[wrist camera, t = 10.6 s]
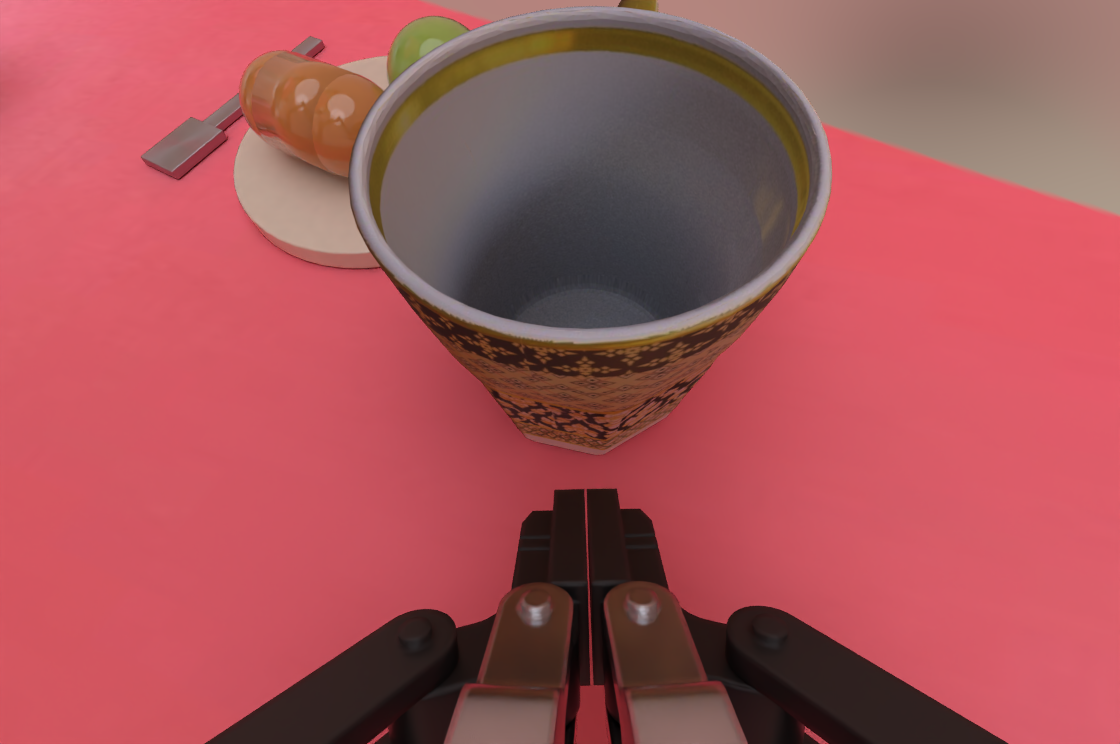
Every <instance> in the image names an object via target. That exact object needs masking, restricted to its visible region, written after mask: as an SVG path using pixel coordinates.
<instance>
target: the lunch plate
mask: <svg viewBox="0 0 1120 744" xmlns="http://www.w3.org/2000/svg"><path fill="white" fill-rule="evenodd" d="M468 31H470V30H469V29H468V28H466V27H465V26H464V25H462V24H461V23H459V22H457V21H455V20H453V19H450V18H446V17H441V16H427V17H422V18H419V19H416V20H414V21H412V22H410V23H409V24H408V25H406V26H405V27H404V28H403V29H402V30H401V31H400V32H399V33H398V34H397V35H396V37H395V39H394V40H393V42H392V44H391V47H390V50H389V52H388V56H380V57H373V58H367V59H362V60H358V61H354V62H350V63H346V64H343V65H340V66H334V65H331V64H328V63H326V62H323V61H320V60H317V59H314V58H312V57H309V56H306V55H303V54H300V53H297V52H292V51H287V50H277V51H270V52H267V53H264V54H262V55H260V56H259V57H257V58H255V59H254V60H253V61H252V62H251V63H250V64H249V65H248V66H247V68H246V69H245V71H244V73H243V75H242V78H241V81H240V86H239V101H240V106H241V110H242V113H243V115H244V117H245V119H246V121H247V123H248V125H249V126H250V128H249V129H248V131H247V132H246V134H245V135H244V137H243V139H242V142H241V144H240V146H239V148H238V151H237V155H236V158H235V164H234V185H235V190H236V193H237V196H238V200H239V202H240V203H241V205H242V207H243V209H244V211H245V212H246V214H247V215H248V216H249V218H250V219H251V221H252V222H253V223H254V225H255V226H256V227H257V228H258V230H259V231H260V232H261V233H262V234H263V236H264V237H266V238H267V239H268V240H269V241H270V242H272V243H273V244H274V245H275V246H277V247H279V248H280V249H282V250H284V251H285V252H287V253H289V254H291V255H293V256H296V257H298V258H300V259H303V260H305V261H309V262H313V263H316V264H320V265H325V266H332V267H339V268H374V267H380V265H379V264H378V262H377V261H376V260H375V258H374V257H373V255H372V254H371V253H370V251H369V250H368V248H367V246H366V244H365V242H364V240H363V238H362V236H361V234H360V232H359V231H358V229H357V225H356V222H355V219H354V216H353V213H352V209H351V205H350V195H349V184H348V173H349V162H350V157H351V152H352V147H353V144H354V142H355V139H356V137H357V134H358V132H359V129H360V126H361V124H362V122H363V121H364V119H365V117H366V115H367V113H368V112H369V110H370V109H371V107H372V106H373V104H374V103H375V101H376V100H377V98H378V97H379V96H380V95H381V94H382V92H383V91H384V90H385V89H386V88H387V87H388V86H389V85H390V84H391V83H392V81H393V80H395V79H396V78H397V77H398V76H399V75H400V74H401V73H402V72H403V71H404V70H406V69H407V68H408V67H409V66H410V65H411V64H413V63H414V62H416V61H417V60H418V59H420V58H421V57H423V56H424V55H426V54H427V53H429V52H430V51H432V50H433V49H435V48H436V47H438V46H440V45H442V44H444V43H446V42H448V41H450V40H451V39H453V38H455V37H457V36H459V35H461V34H463V33H466V32H468Z"/></svg>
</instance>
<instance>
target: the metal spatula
mask: <svg viewBox="0 0 1120 744" xmlns="http://www.w3.org/2000/svg"><path fill="white" fill-rule="evenodd" d="M324 47H325V46H324V44H323V41H322V40H320V39H317V38H314V37H311V36H309V37H308V38H307V39H306V40H304V41H303V42H302V43H301V44H299V45H298V46H297V47H296V48H294V49H293V50H292V52H297V53H300V54H303V55H306V56H309V57H313V56H314V55H316V54H317V53H318V52H319V51H321V50H322V49H323V48H324ZM241 115H243V113H242V110H241V106H240V101H239V93H238V94H237V95H235V96H234V97H233V98H232V99H230V100H229V101H228V102H227V103H225V104H224V105H223V106H222V107H220V108H219V109H218V110H217V111H215V112H214V113H213V114H212V115H210V116H209V117H208V118H207V119H205V120H204V121H203V122H202V121H200V120H197V119H195V118H193V117H190V118H189V119H188V120H187V121H185V122H184V123H183V124H181V125H180V126H179V127H178V128H176V129H175V130H174V131H172V132H171V133H170V134H169V135H167V136H166V137H165V138H164V139H162V140H161V141H160V142H158V143H157V144H156V145H155V146H153V147H152V148H151V149H150V150H148V151H147V152H146V153H144V154H143V155H142V156H141V158H142V160H143V161H144V162H145V163H146V164H147V165H149V166H151V167H153V168H155V169H157V170H159V171H161V172H163V173H165V174H168V175H170V176H172V177H174V178H176V179H179V178H181V177H182V176H183V175H184V174H185V173H187V172H188V171H189V170H190V169H191V168H193V167H194V166H195V165H196V164H197V163H199V162H200V161H201V160H202V159H203V158H205V157H206V156H207V155H208V154H209V153H211V152H212V151H213V150H214V149H215V148H217V147H218V146H219V145H220V144H221V143H223V142H224V141H225V140H226V139H227V137H226V135H225V134H224V132H223V130H224V129H226V128H227V127H228V126H229V125H230V124H232V123H233V122H234V121H235V120H236V119H238V118H239V117H240V116H241Z"/></svg>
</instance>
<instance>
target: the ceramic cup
mask: <svg viewBox="0 0 1120 744" xmlns="http://www.w3.org/2000/svg"><path fill="white" fill-rule="evenodd" d="M831 183H832V161H831V155H830V150H829V145H828V140H827V136H826V134H825V131H824V129H823V126H822V124H821V122H820V119H819V117H818V115H817V113H816V111H815V110H814V108H813V106H812V105H811V103H810V101H809V100H808V99H807V97H806V96H805V95H804V93H803V92H802V91H801V89H800V88H799V87H798V86H797V85H796V84H795V83H794V82H793V81H792V80H791V79H790V78H789V77H788V76H787V75H786V73H784V72H783V71H782V70H781V69H780V68H779V67H778V66H776V65H775V64H774V63H773V62H772V61H770V60H769V59H768V58H766V57H765V56H763V55H762V54H761V53H759V52H758V51H756V50H755V49H753V48H751V47H750V46H748V45H746V44H745V43H743V42H742V41H740V40H738V39H736V38H733V37H731V36H729V35H727V34H725V33H723V32H721V31H719V30H717V29H714V28H712V27H709V26H706V25H703V24H700V23H697V22H694V21H691V20H688V19H685V18H681V17H677V16H673V15H669V14H665V13H660V12H658V0H621V2H620V3H619V5H618V7H604V6H603V7H602V6H586V7H568V8H559V9H550V10H541V11H536V12H531V13H526V14H522V15H517V16H512V17H508V18H506V19H502V20H499V21H496V22H492V23H489V24H486V25H483V26H481V27H478V28H476V29H473V30H471V31H468V32H466V33H463V34H461V35H459V36H457V37H455V38H453V39H451V40H450V41H448V42H446V43H444V44H442V45H440V46H438V47H436V48H435V49H433V50H432V51H430V52H429V53H427V54H426V55H424V56H423V57H421V58H420V59H418V60H417V61H416V62H414V63H413V64H411V65H410V66H409V67H408V68H407V69H406V70H404V71H403V72H402V73H401V74H400V75H399V76H398V77H397V78H396V79H395V80H393V81H392V83H391V84H390V85H389V86H388V87H387V88H386V89H385V90H384V91H383V92H382V94H381V95H380V96H379V97H378V98H377V100H376V101H375V103H374V104H373V106H372V107H371V109H370V110H369V112H368V113H367V115H366V117H365V119H364V121H363V122H362V124H361V126H360V129H359V132H358V134H357V137H356V139H355V142H354V144H353V147H352V152H351V157H350V162H349V173H348V184H349V195H350V205H351V209H352V213H353V216H354V219H355V222H356V225H357V229H358V231H359V232H360V234H361V236H362V238H363V240H364V242H365V244H366V246H367V248H368V250H369V251H370V253H371V254H372V255H373V257H374V258H375V260H376V261H377V262H378V264H379V265H380V267H381V268H382V269H383V271H384V272H385V273H386V274H387V276H388V277H389V278H390V280H391V281H392V282H393V284H394V285H395V286H396V288H397V289H398V290H399V292H400V293H401V294H402V296H403V297H404V298H405V300H406V301H407V302H408V304H409V305H410V306H411V308H412V309H413V310H414V311H415V313H416V314H417V315H418V316H419V318H420V319H421V320H422V321H423V322H424V323H425V325H426V326H427V327H428V328H429V329H430V330H431V331H432V333H433V334H434V335H435V336H436V337H437V338H438V339H439V340H440V342H441V343H442V344H443V345H444V346H445V347H446V348H447V350H448V351H449V352H450V353H451V354H452V355H453V356H454V357H455V358H456V359H457V360H458V361H459V362H460V363H461V364H462V365H463V366H464V367H465V368H466V369H467V370H469V371H470V372H471V373H472V374H473V375H474V376H475V377H476V378H478V379H479V380H480V381H481V382H482V383H483V385H484V386H485V387H486V389H487V390H488V391H489V392H490V394H491V395H492V396H493V397H494V399H495V400H496V401H497V402H498V404H499V405H500V406H501V407H502V408H503V410H504V411H505V412H506V413H507V415H508V416H509V417H510V418H511V419H512V421H513V422H514V424H515V425H516V426H517V428H518V429H519V430H520V431H521V432H522V433H523V434H524V436H525V437H526V438H528V439H531V440H533V441H536V442H540V443H544V444H548V445H553V446H557V447H562V448H566V449H571V450H575V451H580V452H584V453H589V454H594V455H602V454H605V453H607V452H609V451H610V450H612V449H614V448H616V447H617V446H619V445H621V444H622V443H624V442H626V441H627V440H629V439H631V438H632V437H634V436H636V435H637V434H639V433H641V432H642V431H644V430H646V429H647V428H649V427H651V426H653V425H654V424H656V423H658V422H659V421H661V420H663V419H664V418H666V417H667V416H668V415H669V414H670V413H671V411H672V410H673V409H675V408H676V407H677V405H678V404H679V403H680V401H681V400H682V399H683V397H684V396H685V395H686V394H687V393H688V392H689V391H690V390H691V388H692V387H693V386H694V385H695V384H696V383H697V382H698V380H699V379H700V378H701V377H702V376H703V375H704V374H705V372H706V371H707V370H708V369H709V368H710V367H711V365H712V364H713V362H714V361H715V360H716V358H717V357H718V356H719V355H720V354H721V353H723V352H724V351H725V350H726V349H727V348H728V347H730V346H731V345H732V344H733V343H734V342H735V341H736V340H737V339H738V338H739V337H740V336H741V335H742V334H743V333H744V332H745V330H746V329H747V328H748V327H749V326H750V325H751V323H752V322H753V321H754V320H755V319H756V318H757V317H758V315H759V314H760V313H761V312H762V311H763V309H764V308H765V307H766V306H767V305H768V303H769V302H770V301H771V300H772V298H773V297H774V296H775V295H776V294H777V292H778V291H779V290H780V289H781V287H782V286H783V285H784V283H785V282H786V280H787V279H788V277H789V276H790V275H791V273H792V272H793V270H794V269H795V267H796V266H797V264H798V263H799V261H800V260H801V258H802V257H803V255H804V254H805V252H806V251H807V249H808V247H809V246H810V244H811V243H812V241H813V240H814V238H815V236H816V234H817V232H818V230H819V228H820V226H821V223H822V221H823V218H824V216H825V212H826V209H827V205H828V202H829V198H830V194H831Z"/></svg>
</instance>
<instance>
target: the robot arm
mask: <svg viewBox="0 0 1120 744" xmlns="http://www.w3.org/2000/svg"><path fill="white" fill-rule="evenodd" d="M587 517H588V557H589V584H590V608H591V633H592V657H593V681H594V685H604V688H605V710H606V730H607V737H608V743H609V744H819V743H818V742H817V741H815V740H814V739H813V738H811V737H810V736H809V735H807V734H806V733H805V732H804V729H805V726H806V727H807V728H809V729H810V730H811V731H813V732H814V733H815V734H817V735H818V736H819V737H821V738H822V739H823V740H825V741H826V742H827V743H829V744H1008V743H1007V742H1005V741H1003V740H1002V739H1000V738H998V737H996V736H995V735H993V734H991V733H990V732H988V731H986V730H985V729H983V728H981V727H980V726H978V725H976V724H975V723H973V722H971V721H969V720H968V719H966V718H964V717H963V716H961V715H959V714H958V713H956V712H954V711H953V710H951V709H949V708H947V707H946V706H944V705H942V704H941V703H939V702H937V701H936V700H934V699H932V698H931V697H929V696H927V695H926V694H924V693H922V692H920V691H919V690H917V689H915V688H914V687H912V686H910V685H909V684H907V683H905V682H904V681H902V680H900V679H899V678H897V677H895V676H893V675H892V674H890V673H888V672H887V671H885V670H883V669H882V668H880V667H878V666H877V665H875V664H873V663H871V662H870V661H868V660H866V659H865V658H863V657H861V656H860V655H858V654H856V653H855V652H853V651H851V650H850V649H848V648H846V647H844V646H843V645H841V644H839V643H838V642H836V641H834V640H833V639H831V638H829V637H828V636H826V635H824V634H823V633H821V632H819V631H817V630H816V629H814V628H812V627H811V626H809V625H807V624H806V623H804V622H802V621H801V620H799V619H797V618H795V617H794V616H792V615H790V614H788V613H786V612H784V611H781V610H779V609H775V608H772V607H766V606H749V607H744V608H742V609H739V610H737V611H735V612H734V613H733V614H732V615H731V616H730V618H729V619H728V622H727V624H723V623H719V622H714V621H710V620H706V619H702V618H699V617H697V616H694V615H692V614H690V613H688V612H687V611H685V610H684V609H682V608H681V607H680V604H679V602H678V600H677V598H676V597H675V595H674V594H673V593H672V592H670V591H669V589H668V585H667V581H666V577H665V573H664V569H663V565H662V560H661V556H660V552H659V548H658V544H657V540H656V537H655V532H654V528H653V524H652V520H651V519H650V518H649V517H648V516H647V515H646V514H645V513H644V512H643V511H642V510H641V509H620V506H619V500H618V493H617V489H587ZM580 686H590V658H589V618H588V580H587V552H586V525H585V497H584V489H572V490H555V491H554V505H553V511H532V513H531V514H530V515H529V516H528V517H527V518H526V519H525V520H524V522H523V523H522V527H521V533H520V539H519V546H518V552H517V558H516V564H515V570H514V576H513V582H512V588H511V591H510V592H508V593H507V594H506V595H505V596H504V597H503V598H502V600H501V602H500V604H499V607H498V610H497V613H496V614H495V615H493V616H491V617H490V618H488V619H485V620H483V621H481V622H477V623H474V624H470V625H466V626H462V627H459V628H456V625H455V623H454V621H453V620H452V618H451V617H450V616H448V615H447V614H445V613H443V612H441V611H438V610H432V609H421V610H415V611H410V612H407V613H404V614H402V615H400V616H398V617H396V618H394V619H393V620H391V621H389V622H388V623H386V624H385V625H383V626H382V627H380V628H379V629H377V630H376V631H374V632H373V633H371V634H370V635H368V636H367V637H365V638H364V639H362V640H361V641H359V642H358V643H356V644H355V645H353V646H352V647H350V648H349V649H347V650H346V651H344V652H343V653H341V654H340V655H338V656H337V657H335V658H334V659H332V660H330V661H329V662H327V663H326V664H324V665H323V666H321V667H320V668H318V669H317V670H315V671H314V672H312V673H311V674H309V675H308V676H306V677H305V678H303V679H302V680H300V681H299V682H297V683H296V684H294V685H293V686H291V687H290V688H288V689H287V690H285V691H284V692H282V693H281V694H279V695H278V696H276V697H275V698H273V699H272V700H270V701H268V702H267V703H265V704H264V705H262V706H261V707H259V708H258V709H256V710H255V711H253V712H252V713H250V714H249V715H247V716H246V717H244V718H243V719H241V720H240V721H238V722H237V723H235V724H234V725H232V726H231V727H229V728H228V729H226V730H225V731H223V732H222V733H220V734H219V735H217V736H216V737H214V738H213V739H211V740H210V741H208V742H206V743H205V744H367V743H369V742H370V741H371V740H372V739H373V738H375V737H376V736H377V735H378V734H380V733H381V732H382V731H383V730H384V729H386V728H387V727H388V729H389V732H388V733H387V734H385V735H384V736H383V737H382V738H381V739H379V740H378V741H377V742H376V743H375V744H576V737H577V712H578V710H579V707H580Z"/></svg>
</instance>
